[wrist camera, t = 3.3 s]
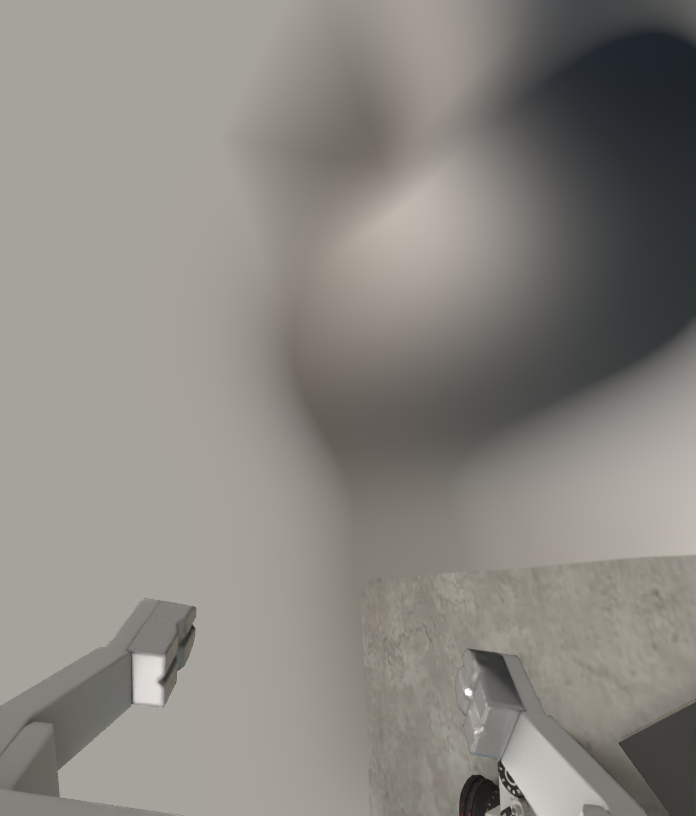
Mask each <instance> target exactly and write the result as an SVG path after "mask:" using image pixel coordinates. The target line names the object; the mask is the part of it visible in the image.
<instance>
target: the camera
mask: <svg viewBox="0 0 696 816" xmlns="http://www.w3.org/2000/svg"><path fill="white" fill-rule="evenodd" d="M501 761H502V760H501V759H498V771H499V787H500V788H499V787H498V786H496V785H495V784H494V783H493V782H492V781H491V780H488V779H485V778H484V777H483V776H481V775H472V776H471V777H470V778H468V779H467V781H466V783H465V785H464V786H463V789H462V792H461V795H460V803H459V815H460V816H538V815H537V814H536V812H535V811H534V809H533V808H532V806H531V805H530V803H529V802H528V801H527V799H526V798H525V796H524V795H523V793H522V792H521V790H520V789H519V787H518V786H517V784H516V783H515V781H514V780H513V778H512V777H511V775H510V774H509V772H508V771H507V770H506V768H505V767H504V765H503V764H502V762H501Z"/></svg>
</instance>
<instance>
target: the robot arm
mask: <svg viewBox="0 0 696 816" xmlns="http://www.w3.org/2000/svg"><path fill="white" fill-rule="evenodd" d="M195 618H196V607H194V606H188V605H183V604H177V603H172V602H166V601H160V600H154V599H149V598H144V599H143V600H142V601H141V602H139V604H138V605H137V606H136V608H135V609H134V610H133V612H132V613H131V614H130V616H129V617H128V618H127V620H126V621H125V622H124V623H123V625H122V626H121V627H120V629H119V630H118V631H117V633H116V634H115V635H114V637H113V638H112V639H111V641H110V642H109V643H108V645H107V646H106V647H99V648H97V649H96V650H94V651H93V652H90V653H89V654H87V655H85V656H84V657H82V658H81V659H79V660H77V661H75V662H74V663H72V664H70V665H69V666H67V667H65V668H64V669H62V670H60V671H58V672H57V673H55V674H53V675H52V676H50V677H48V678H47V679H45V680H43V681H42V682H40V683H38V684H37V685H35V686H33V687H31V688H30V689H28V690H27V691H25V692H23V693H21V694H20V695H18V696H16V697H15V698H13V699H11V700H10V701H8V702H6V703H5V704H3V705H1V706H0V816H181V815H175V814H169V813H162V812H155V811H148V810H141V809H135V808H128V807H121V806H114V805H107V804H101V803H94V802H87V801H80V800H73V799H66V798H60V796H59V783H58V773H57V771H58V770H59V769H60V768H61V767H62V766H64V765H65V764H66V763H67V762H68V761H69V760H70V759H72V758H73V757H74V756H75V755H76V754H77V753H78V752H80V751H81V750H82V749H83V748H84V747H85V746H86V745H88V744H89V743H90V742H91V741H92V740H93V739H94V738H95V737H97V736H98V735H99V734H100V733H101V732H102V731H103V730H105V729H106V728H107V727H108V726H109V725H110V724H111V723H113V722H114V721H115V720H116V719H117V718H118V717H119V716H120V715H122V714H123V713H124V712H125V711H126V710H127V709H128V708H130V707H131V704H137V705H146V706H155V707H164V706H165V704H166V702H167V700H168V698H169V696H170V694H171V692H172V690H173V688H174V685H175V684H176V679H177V671H178V670H180V669H181V668H182V667H184V665H185V663H186V661H187V659H188V657H189V655H190V652H191V649H192V646H193V642H194V637H195V627H194V626H193V624H192V623H193V621H194V620H195ZM462 660H463V664H464V665H463V666H462V667H460V668H459V669H458V671H457V675H456V680H455V692H456V699H457V703H458V707H459V709H460V710H461V712H462V713H463V714H464V715H465V717H466V718H465V721H464V724H463V727H464V731H465V735H466V739H467V743H468V747H469V751H470V754H474V755H479V756H484V757H490V758H495V759H501V760H502V761H501V762H502V764H503V765H504V767H505V768H506V770H507V771H508V772H509V774H510V775H511V777H512V778H513V780H514V781H515V783H516V784H517V786H518V787H519V789H520V790H521V792H522V793H523V795H524V796H525V798H526V799H527V801H528V802H529V803H530V805H531V806H532V808H533V809H534V811H535V812H536V814H537V815H538V816H648V815H647V813H646V812H645V810H644V809H643V808H642V807H641V806H640V805H639V804H638V803H637V802H636V801H635V800H634V799H633V798H632V797H631V796H630V795H629V794H628V793H627V792H626V791H625V790H624V789H623V788H622V787H621V786H620V785H619V784H618V783H617V782H616V781H615V780H614V779H613V778H612V777H611V776H610V775H609V774H608V773H607V772H606V771H605V770H604V769H603V768H602V767H601V766H600V765H599V764H598V763H597V762H596V761H595V760H594V759H593V758H592V757H591V756H590V755H589V754H588V753H587V752H586V751H585V750H584V749H583V748H582V747H581V746H580V745H579V744H578V743H577V741H576V740H575V739H574V738H573V737H572V736H571V735H570V734H569V733H568V732H567V731H566V730H565V729H564V728H563V727H562V726H561V725H560V724H559V723H558V722H557V721H556V720H555V719H554V718H553V717H552V716H549V715H546V714H545V712H544V710H543V707H542V705H541V703H540V701H539V699H538V697H537V695H536V693H535V690H534V688H533V686H532V684H531V682H530V680H529V678H528V676H527V673H526V671H525V669H524V667H523V665H522V663H521V661H520V659H519V658H518V657H517V656H515V655H508V654H501V653H496V652H489V651H482V650H475V649H468V648H467V649H466V650H465V651H464V652H463V655H462Z"/></svg>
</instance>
